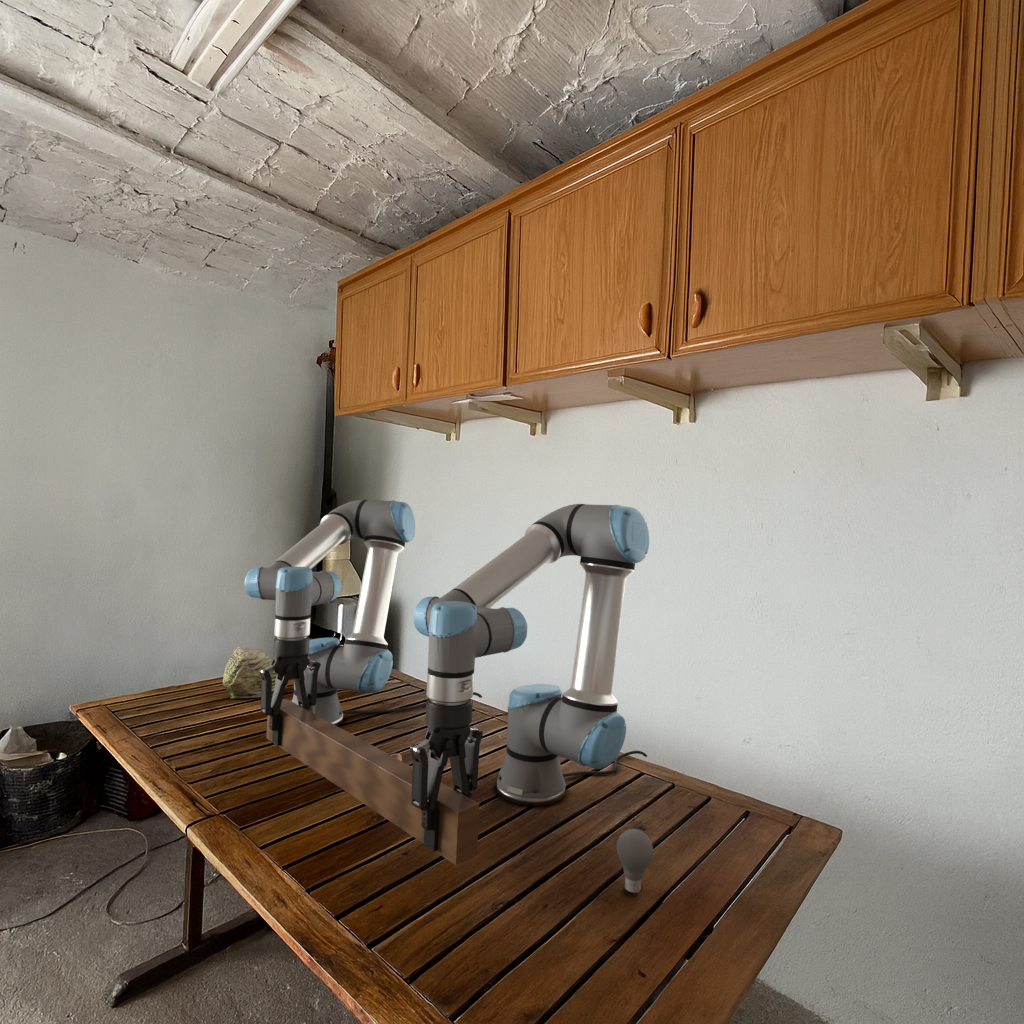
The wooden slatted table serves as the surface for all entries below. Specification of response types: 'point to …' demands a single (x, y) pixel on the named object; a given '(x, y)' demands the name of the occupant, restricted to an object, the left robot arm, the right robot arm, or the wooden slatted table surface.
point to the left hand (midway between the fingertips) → (287, 741)
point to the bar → (377, 780)
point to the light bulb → (634, 857)
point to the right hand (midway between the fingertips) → (443, 841)
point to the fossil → (246, 672)
